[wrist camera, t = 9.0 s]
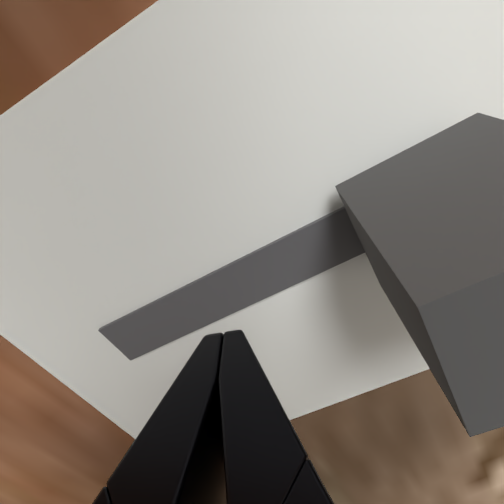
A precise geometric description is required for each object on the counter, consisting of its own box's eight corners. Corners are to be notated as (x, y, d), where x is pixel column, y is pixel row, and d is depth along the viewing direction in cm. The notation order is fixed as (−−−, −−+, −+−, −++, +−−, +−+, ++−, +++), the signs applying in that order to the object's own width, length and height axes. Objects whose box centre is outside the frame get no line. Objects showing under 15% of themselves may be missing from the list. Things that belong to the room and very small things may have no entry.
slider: (335, 186, 8) (425, 318, 4) (477, 112, 7) (746, 191, 3) (380, 284, 9) (477, 449, 5) (502, 231, 8) (710, 378, 5)
